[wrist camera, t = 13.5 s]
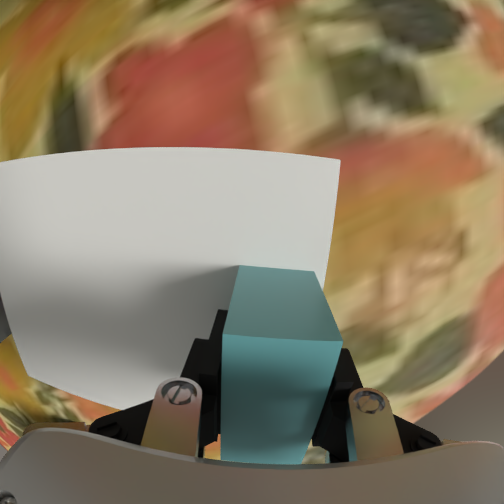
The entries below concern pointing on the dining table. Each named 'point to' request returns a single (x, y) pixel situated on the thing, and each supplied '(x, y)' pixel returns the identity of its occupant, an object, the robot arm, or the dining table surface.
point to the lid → (176, 280)
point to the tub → (3, 323)
